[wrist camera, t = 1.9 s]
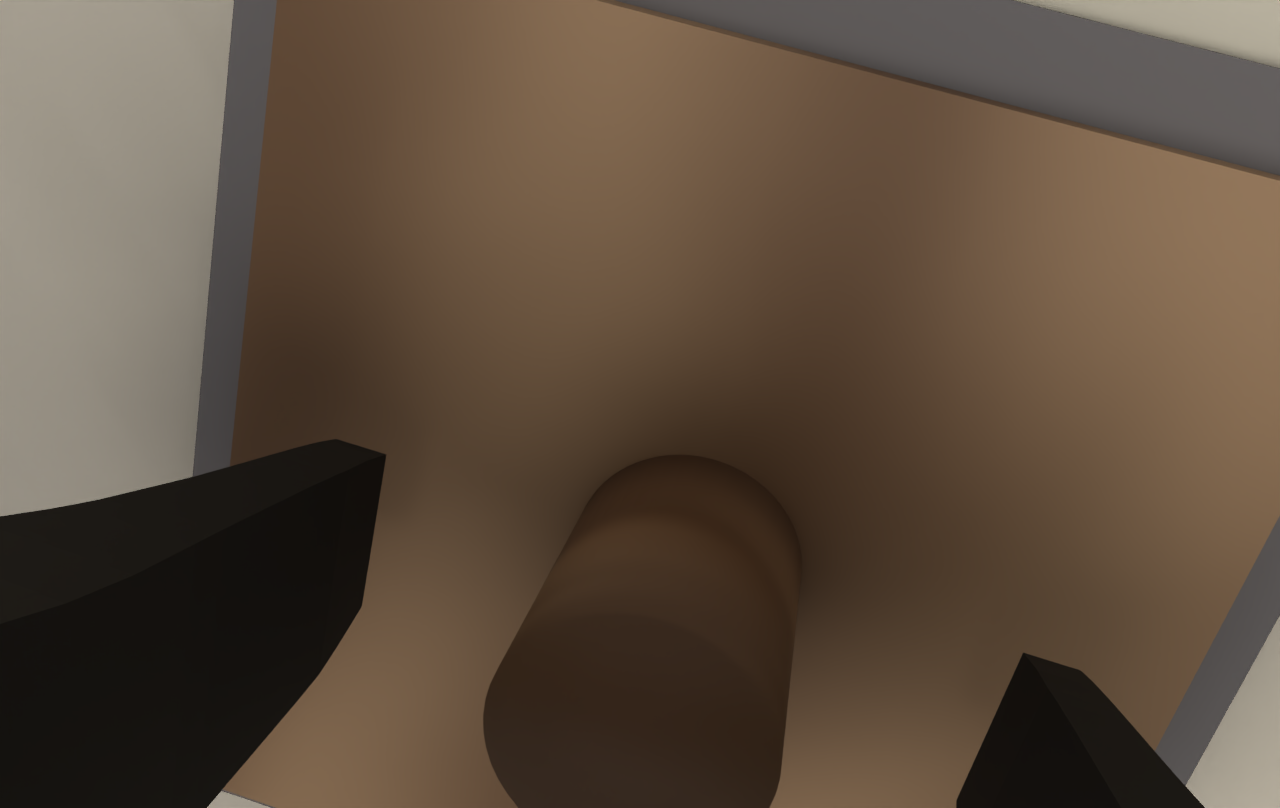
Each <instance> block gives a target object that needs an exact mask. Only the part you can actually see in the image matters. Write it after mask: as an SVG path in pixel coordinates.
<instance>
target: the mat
mask: <svg viewBox="0 0 1280 808" xmlns="http://www.w3.org/2000/svg"><path fill="white" fill-rule="evenodd" d="M615 1H619V2H623V3H626V4H630V5H634V6H638V7H642V8H645V9H649V10H653V11H657V12H661V13H664V14H668V15H672V16H676V17H679V18H683V19H687V20H691V21H695V22H698V23H702V24H706V25H710V26H714V27H717V28H721V29H725V30H729V31H733V32H736V33H740V34H744V35H748V36H752V37H755V38H759V39H763V40H767V41H770V42H774V43H778V44H782V45H786V46H789V47H793V48H797V49H801V50H805V51H808V52H812V53H816V54H820V55H824V56H827V57H831V58H835V59H839V60H843V61H846V62H850V63H854V64H858V65H861V66H865V67H869V68H873V69H877V70H880V71H884V72H888V73H892V74H896V75H899V76H903V77H907V78H911V79H915V80H918V81H922V82H926V83H930V84H934V85H937V86H941V87H945V88H949V89H952V90H956V91H960V92H964V93H968V94H971V95H975V96H979V97H983V98H987V99H990V100H994V101H998V102H1002V103H1006V104H1009V105H1013V106H1017V107H1021V108H1025V109H1028V110H1032V111H1036V112H1040V113H1043V114H1047V115H1051V116H1055V117H1059V118H1062V119H1066V120H1070V121H1074V122H1078V123H1081V124H1085V125H1089V126H1093V127H1097V128H1100V129H1104V130H1108V131H1112V132H1116V133H1119V134H1123V135H1127V136H1131V137H1134V138H1138V139H1142V140H1146V141H1150V142H1153V143H1157V144H1161V145H1165V146H1169V147H1172V148H1176V149H1180V150H1184V151H1188V152H1191V153H1195V154H1199V155H1203V156H1207V157H1210V158H1214V159H1218V160H1222V161H1225V162H1229V163H1233V164H1237V165H1241V166H1244V167H1248V168H1252V169H1256V170H1260V171H1263V172H1267V173H1271V174H1275V175H1279V176H1280V68H1276V67H1272V66H1268V65H1264V64H1260V63H1256V62H1252V61H1248V60H1244V59H1240V58H1236V57H1233V56H1229V55H1225V54H1221V53H1217V52H1213V51H1209V50H1205V49H1201V48H1197V47H1193V46H1189V45H1186V44H1182V43H1178V42H1174V41H1170V40H1166V39H1162V38H1158V37H1154V36H1150V35H1146V34H1142V33H1139V32H1135V31H1131V30H1127V29H1123V28H1119V27H1115V26H1111V25H1107V24H1103V23H1099V22H1095V21H1091V20H1088V19H1084V18H1080V17H1076V16H1072V15H1068V14H1064V13H1060V12H1056V11H1052V10H1048V9H1044V8H1041V7H1037V6H1033V5H1029V4H1025V3H1021V2H1017V1H1013V0H615ZM276 4H277V0H234V8H233V19H232V31H231V42H230V54H229V65H228V77H227V88H226V100H225V111H224V123H223V134H222V146H221V158H220V169H219V181H218V192H217V204H216V215H215V227H214V238H213V250H212V261H211V273H210V284H209V296H208V307H207V319H206V330H205V342H204V353H203V365H202V376H201V388H200V399H199V411H198V422H197V434H196V446H195V457H194V469H193V477H194V476H198V475H201V474H205V473H208V472H212V471H215V470H219V469H223V468H226V467H230V459H231V449H232V439H233V429H234V420H235V410H236V400H237V390H238V380H239V370H240V360H241V350H242V340H243V331H244V321H245V311H246V301H247V291H248V281H249V271H250V261H251V252H252V242H253V232H254V222H255V212H256V202H257V192H258V182H259V172H260V163H261V153H262V143H263V133H264V123H265V113H266V103H267V93H268V84H269V74H270V64H271V54H272V44H273V34H274V24H275V14H276ZM1279 615H1280V516H1279V518H1278V520H1277V522H1276V523H1275V525H1274V527H1273V529H1272V531H1271V533H1270V535H1269V537H1268V538H1267V540H1266V542H1265V544H1264V546H1263V548H1262V550H1261V552H1260V554H1259V555H1258V557H1257V559H1256V561H1255V563H1254V565H1253V567H1252V569H1251V571H1250V572H1249V574H1248V576H1247V578H1246V580H1245V582H1244V584H1243V586H1242V588H1241V589H1240V591H1239V593H1238V595H1237V597H1236V599H1235V601H1234V603H1233V605H1232V606H1231V608H1230V610H1229V612H1228V614H1227V616H1226V618H1225V620H1224V622H1223V623H1222V625H1221V627H1220V629H1219V631H1218V633H1217V635H1216V637H1215V638H1214V640H1213V642H1212V644H1211V646H1210V648H1209V650H1208V652H1207V654H1206V655H1205V657H1204V659H1203V661H1202V663H1201V665H1200V667H1199V669H1198V671H1197V672H1196V674H1195V676H1194V678H1193V680H1192V682H1191V684H1190V686H1189V688H1188V689H1187V691H1186V693H1185V695H1184V697H1183V699H1182V701H1181V703H1180V705H1179V706H1178V708H1177V710H1176V712H1175V714H1174V716H1173V718H1172V720H1171V721H1170V723H1169V725H1168V727H1167V729H1166V731H1165V733H1164V735H1163V737H1162V738H1161V740H1160V742H1159V744H1158V746H1157V748H1156V750H1155V752H1156V753H1157V754H1158V756H1159V757H1160V758H1161V759H1162V760H1163V761H1164V762H1165V764H1166V765H1167V766H1168V767H1169V768H1170V769H1171V770H1172V772H1173V773H1174V774H1175V775H1176V776H1177V777H1178V778H1179V779H1180V781H1181V782H1182V783H1183V784H1184V785H1185V786H1186V784H1187V782H1188V780H1189V778H1190V776H1191V775H1192V773H1193V771H1194V769H1195V767H1196V766H1197V764H1198V762H1199V760H1200V758H1201V757H1202V755H1203V753H1204V751H1205V749H1206V748H1207V746H1208V744H1209V742H1210V740H1211V738H1212V737H1213V735H1214V733H1215V731H1216V729H1217V728H1218V726H1219V724H1220V722H1221V720H1222V719H1223V717H1224V715H1225V713H1226V711H1227V710H1228V708H1229V706H1230V704H1231V702H1232V700H1233V699H1234V697H1235V695H1236V693H1237V691H1238V690H1239V688H1240V686H1241V684H1242V682H1243V681H1244V679H1245V677H1246V675H1247V673H1248V672H1249V670H1250V668H1251V666H1252V664H1253V662H1254V661H1255V659H1256V657H1257V655H1258V653H1259V652H1260V650H1261V648H1262V646H1263V644H1264V643H1265V641H1266V639H1267V637H1268V635H1269V634H1270V632H1271V630H1272V628H1273V626H1274V624H1275V623H1276V621H1277V619H1278V617H1279ZM221 791H224V792H227V793H230V794H233V795H236V796H239V797H242V798H245V799H248V800H251V801H254V802H256V803H259V804H262V805H265V806H268V807H271V808H276V807H273V806H270V805H267V804H264V803H261V802H258V801H255V800H252V799H249V798H246V797H243V796H240V795H237V794H235V793H232V792H229V791H226V790H223V789H222V790H221Z"/></svg>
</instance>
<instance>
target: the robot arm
mask: <svg viewBox="0 0 1280 808" xmlns="http://www.w3.org/2000/svg"><path fill="white" fill-rule="evenodd" d="M386 455H387V454H383V453H380V452H377V451H374V450H371V449H367V448H364V447H361V446H358V445H354V444H351V443H348V442H345V441H342V440H338V439H332V440H326V441H321V442H316V443H312V444H308V445H304V446H300V447H297V448H293V449H289V450H286V451H282V452H279V453H275V454H272V455H268V456H265V457H261V458H258V459H254V460H251V461H247V462H244V463H240V464H237V465H233V466H230V467H226V468H223V469H219V470H215V471H212V472H208V473H205V474H201V475H198V476H194V477H191V478H187V479H183V480H179V481H175V482H171V483H166V484H162V485H158V486H154V487H150V488H146V489H141V490H137V491H133V492H129V493H125V494H121V495H116V496H112V497H108V498H104V499H100V500H95V501H90V502H85V503H80V504H75V505H69V506H64V507H58V508H53V509H47V510H41V511H34V512H27V513H21V514H14V515H8V516H1V517H0V808H207V807H208V806H209V804H210V803H211V802H212V801H213V800H214V799H215V797H216V796H217V795H218V794H219V793H220V792H221V790H222V789H223V788H224V787H225V786H226V784H227V783H228V782H229V781H230V780H231V779H232V777H233V776H234V775H235V774H236V773H237V772H238V770H239V769H240V768H241V767H242V766H243V765H244V763H245V762H246V761H247V760H248V759H249V758H250V756H251V755H252V754H253V753H254V752H255V751H256V749H257V748H258V747H259V746H260V745H261V743H262V742H263V741H264V740H265V739H266V738H267V736H268V735H269V734H270V733H271V732H272V731H273V729H274V728H275V727H276V726H277V725H278V724H279V722H280V721H281V720H282V719H283V718H284V716H285V715H286V714H287V713H288V712H289V710H290V709H291V708H292V707H293V706H294V704H295V703H296V702H297V701H298V700H299V698H300V697H301V696H302V695H303V694H304V692H305V691H306V690H307V689H308V688H309V686H310V685H311V684H312V683H313V682H314V680H315V679H316V678H317V677H318V675H319V674H320V672H321V671H322V669H323V668H324V666H325V665H326V663H327V662H328V660H329V659H330V657H331V656H332V654H333V652H334V651H335V649H336V648H337V646H338V645H339V643H340V642H341V640H342V638H343V637H344V635H345V633H346V632H347V630H348V628H349V627H350V625H351V624H352V622H353V620H354V619H355V617H356V615H357V614H358V612H359V610H360V609H361V607H362V603H363V597H364V590H365V584H366V578H367V572H368V566H369V560H370V553H371V547H372V541H373V535H374V529H375V523H376V516H377V510H378V504H379V498H380V492H381V486H382V479H383V473H384V467H385V461H386ZM956 808H1205V807H1204V806H1203V805H1202V804H1201V803H1200V802H1199V801H1198V800H1197V799H1196V798H1195V796H1194V795H1193V794H1192V793H1191V792H1190V791H1189V790H1188V789H1187V787H1186V786H1185V785H1184V784H1183V783H1182V782H1181V781H1180V779H1179V778H1178V777H1177V776H1176V775H1175V774H1174V773H1173V772H1172V770H1171V769H1170V768H1169V767H1168V766H1167V765H1166V764H1165V762H1164V761H1163V760H1162V759H1161V758H1160V757H1159V756H1158V754H1157V753H1156V752H1155V751H1154V750H1153V749H1152V747H1151V746H1150V745H1149V744H1148V743H1147V742H1146V741H1145V739H1144V738H1143V737H1142V736H1141V735H1140V734H1139V732H1138V731H1137V730H1136V729H1135V728H1134V727H1133V726H1132V724H1131V723H1130V722H1129V721H1128V720H1127V719H1126V718H1125V716H1124V715H1123V714H1122V713H1121V712H1120V711H1119V710H1118V708H1117V707H1116V706H1115V705H1114V704H1113V703H1112V702H1111V701H1110V699H1109V698H1108V697H1107V696H1106V695H1105V694H1104V693H1103V692H1102V691H1101V690H1100V689H1099V688H1098V687H1097V686H1096V685H1095V683H1094V682H1093V681H1092V680H1091V679H1089V678H1088V677H1087V676H1086V675H1085V674H1084V673H1083V672H1082V671H1081V670H1078V669H1075V668H1072V667H1068V666H1065V665H1062V664H1059V663H1056V662H1052V661H1049V660H1046V659H1043V658H1039V657H1036V656H1033V655H1030V654H1027V653H1023V654H1022V656H1021V658H1020V661H1019V663H1018V665H1017V667H1016V669H1015V672H1014V674H1013V676H1012V678H1011V680H1010V683H1009V685H1008V687H1007V689H1006V692H1005V694H1004V696H1003V698H1002V700H1001V703H1000V705H999V707H998V709H997V711H996V714H995V716H994V718H993V720H992V723H991V725H990V727H989V729H988V731H987V734H986V736H985V738H984V740H983V742H982V745H981V747H980V749H979V751H978V754H977V756H976V758H975V760H974V762H973V765H972V767H971V769H970V771H969V773H968V776H967V778H966V780H965V782H964V784H963V787H962V789H961V791H960V793H959V796H958V798H957V800H956Z"/></svg>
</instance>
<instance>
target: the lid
mask: <svg viewBox="0 0 1280 808" xmlns="http://www.w3.org/2000/svg"><path fill="white" fill-rule="evenodd" d="M332 439H338V440H342V441H345V442H348V443H351V444H354V445H358V446H361V447H364V448H367V449H371V450H374V451H377V452H380V453H383V454H387V455H386V461H385V467H384V473H383V479H382V486H381V492H380V498H379V504H378V510H377V516H376V523H375V529H374V535H373V541H372V547H371V553H370V560H369V566H368V572H367V578H366V584H365V590H364V597H363V603H362V607H361V609H360V610H359V612H358V614H357V615H356V617H355V619H354V620H353V622H352V624H351V625H350V627H349V628H348V630H347V632H346V633H345V635H344V637H343V638H342V640H341V642H340V643H339V645H338V646H337V648H336V649H335V651H334V652H333V654H332V656H331V657H330V659H329V660H328V662H327V663H326V665H325V666H324V668H323V669H322V671H321V672H320V674H319V675H318V677H317V678H316V679H315V680H314V682H313V683H312V684H311V685H310V686H309V688H308V689H307V690H306V691H305V692H304V694H303V695H302V696H301V697H300V698H299V700H298V701H297V702H296V703H295V704H294V706H293V707H292V708H291V709H290V710H289V712H288V713H287V714H286V715H285V716H284V718H283V719H282V720H281V721H280V722H279V724H278V725H277V726H276V727H275V728H274V729H273V731H272V732H271V733H270V734H269V735H268V736H267V738H266V739H265V740H264V741H263V742H262V743H261V745H260V746H259V747H258V748H257V749H256V751H255V752H254V753H253V754H252V755H251V756H250V758H249V759H248V760H247V761H246V762H245V763H244V765H243V766H242V767H241V768H240V769H239V770H238V772H237V773H236V774H235V775H234V776H233V777H232V779H231V780H230V781H229V782H228V783H227V784H226V786H225V787H224V788H223V790H226V791H229V792H232V793H235V794H237V795H240V796H243V797H246V798H249V799H252V800H255V801H258V802H261V803H264V804H267V805H270V806H273V807H276V808H956V800H957V798H958V796H959V793H960V791H961V789H962V787H963V784H964V782H965V780H966V778H967V776H968V773H969V771H970V769H971V767H972V765H973V762H974V760H975V758H976V756H977V754H978V751H979V749H980V747H981V745H982V742H983V740H984V738H985V736H986V734H987V731H988V729H989V727H990V725H991V723H992V720H993V718H994V716H995V714H996V711H997V709H998V707H999V705H1000V703H1001V700H1002V698H1003V696H1004V694H1005V692H1006V689H1007V687H1008V685H1009V683H1010V680H1011V678H1012V676H1013V674H1014V672H1015V669H1016V667H1017V665H1018V663H1019V661H1020V658H1021V656H1022V654H1023V653H1027V654H1030V655H1033V656H1036V657H1039V658H1043V659H1046V660H1049V661H1052V662H1056V663H1059V664H1062V665H1065V666H1068V667H1072V668H1075V669H1078V670H1081V671H1082V672H1083V673H1084V674H1085V675H1086V676H1087V677H1088V678H1089V679H1091V680H1092V681H1093V682H1094V683H1095V685H1096V686H1097V687H1098V688H1099V689H1100V690H1101V691H1102V692H1103V693H1104V694H1105V695H1106V696H1107V697H1108V698H1109V699H1110V701H1111V702H1112V703H1113V704H1114V705H1115V706H1116V707H1117V708H1118V710H1119V711H1120V712H1121V713H1122V714H1123V715H1124V716H1125V718H1126V719H1127V720H1128V721H1129V722H1130V723H1131V724H1132V726H1133V727H1134V728H1135V729H1136V730H1137V731H1138V732H1139V734H1140V735H1141V736H1142V737H1143V738H1144V739H1145V741H1146V742H1147V743H1148V744H1149V745H1150V746H1151V747H1152V749H1153V750H1154V751H1155V750H1156V748H1157V746H1158V744H1159V742H1160V740H1161V738H1162V737H1163V735H1164V733H1165V731H1166V729H1167V727H1168V725H1169V723H1170V721H1171V720H1172V718H1173V716H1174V714H1175V712H1176V710H1177V708H1178V706H1179V705H1180V703H1181V701H1182V699H1183V697H1184V695H1185V693H1186V691H1187V689H1188V688H1189V686H1190V684H1191V682H1192V680H1193V678H1194V676H1195V674H1196V672H1197V671H1198V669H1199V667H1200V665H1201V663H1202V661H1203V659H1204V657H1205V655H1206V654H1207V652H1208V650H1209V648H1210V646H1211V644H1212V642H1213V640H1214V638H1215V637H1216V635H1217V633H1218V631H1219V629H1220V627H1221V625H1222V623H1223V622H1224V620H1225V618H1226V616H1227V614H1228V612H1229V610H1230V608H1231V606H1232V605H1233V603H1234V601H1235V599H1236V597H1237V595H1238V593H1239V591H1240V589H1241V588H1242V586H1243V584H1244V582H1245V580H1246V578H1247V576H1248V574H1249V572H1250V571H1251V569H1252V567H1253V565H1254V563H1255V561H1256V559H1257V557H1258V555H1259V554H1260V552H1261V550H1262V548H1263V546H1264V544H1265V542H1266V540H1267V538H1268V537H1269V535H1270V533H1271V531H1272V529H1273V527H1274V525H1275V523H1276V522H1277V520H1278V518H1279V516H1280V176H1279V175H1275V174H1271V173H1267V172H1263V171H1260V170H1256V169H1252V168H1248V167H1244V166H1241V165H1237V164H1233V163H1229V162H1225V161H1222V160H1218V159H1214V158H1210V157H1207V156H1203V155H1199V154H1195V153H1191V152H1188V151H1184V150H1180V149H1176V148H1172V147H1169V146H1165V145H1161V144H1157V143H1153V142H1150V141H1146V140H1142V139H1138V138H1134V137H1131V136H1127V135H1123V134H1119V133H1116V132H1112V131H1108V130H1104V129H1100V128H1097V127H1093V126H1089V125H1085V124H1081V123H1078V122H1074V121H1070V120H1066V119H1062V118H1059V117H1055V116H1051V115H1047V114H1043V113H1040V112H1036V111H1032V110H1028V109H1025V108H1021V107H1017V106H1013V105H1009V104H1006V103H1002V102H998V101H994V100H990V99H987V98H983V97H979V96H975V95H971V94H968V93H964V92H960V91H956V90H952V89H949V88H945V87H941V86H937V85H934V84H930V83H926V82H922V81H918V80H915V79H911V78H907V77H903V76H899V75H896V74H892V73H888V72H884V71H880V70H877V69H873V68H869V67H865V66H861V65H858V64H854V63H850V62H846V61H843V60H839V59H835V58H831V57H827V56H824V55H820V54H816V53H812V52H808V51H805V50H801V49H797V48H793V47H789V46H786V45H782V44H778V43H774V42H770V41H767V40H763V39H759V38H755V37H752V36H748V35H744V34H740V33H736V32H733V31H729V30H725V29H721V28H717V27H714V26H710V25H706V24H702V23H698V22H695V21H691V20H687V19H683V18H679V17H676V16H672V15H668V14H664V13H661V12H657V11H653V10H649V9H645V8H642V7H638V6H634V5H630V4H626V3H623V2H619V1H615V0H277V4H276V14H275V24H274V34H273V44H272V54H271V64H270V74H269V84H268V93H267V103H266V113H265V123H264V133H263V143H262V153H261V163H260V172H259V182H258V192H257V202H256V212H255V222H254V232H253V242H252V252H251V261H250V271H249V281H248V291H247V301H246V311H245V321H244V331H243V340H242V350H241V360H240V370H239V380H238V390H237V400H236V410H235V420H234V429H233V439H232V449H231V459H230V466H233V465H237V464H240V463H244V462H247V461H251V460H254V459H258V458H261V457H265V456H268V455H272V454H275V453H279V452H282V451H286V450H289V449H293V448H297V447H300V446H304V445H308V444H312V443H316V442H321V441H326V440H332Z"/></svg>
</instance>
